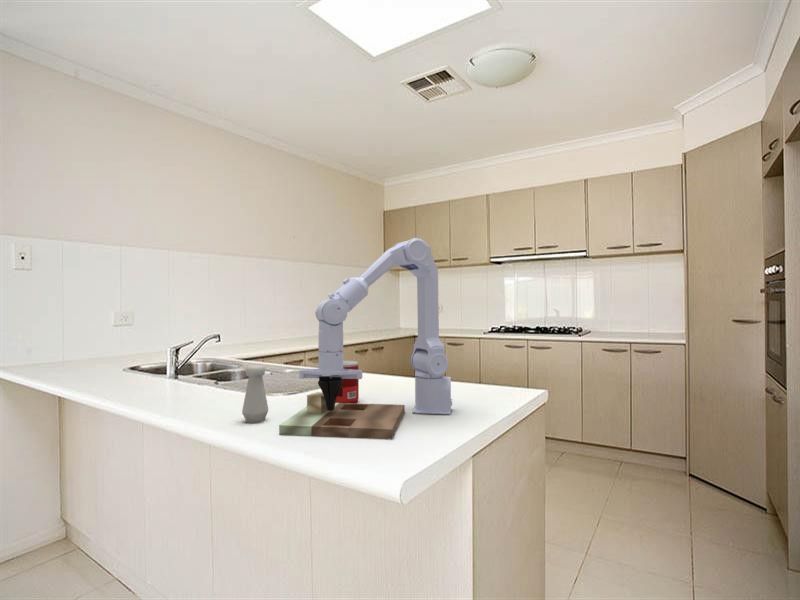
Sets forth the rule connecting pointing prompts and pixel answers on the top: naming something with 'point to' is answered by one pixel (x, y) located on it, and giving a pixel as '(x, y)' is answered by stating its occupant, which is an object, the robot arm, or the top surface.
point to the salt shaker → (255, 395)
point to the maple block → (316, 403)
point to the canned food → (348, 386)
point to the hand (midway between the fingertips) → (330, 409)
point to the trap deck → (347, 421)
